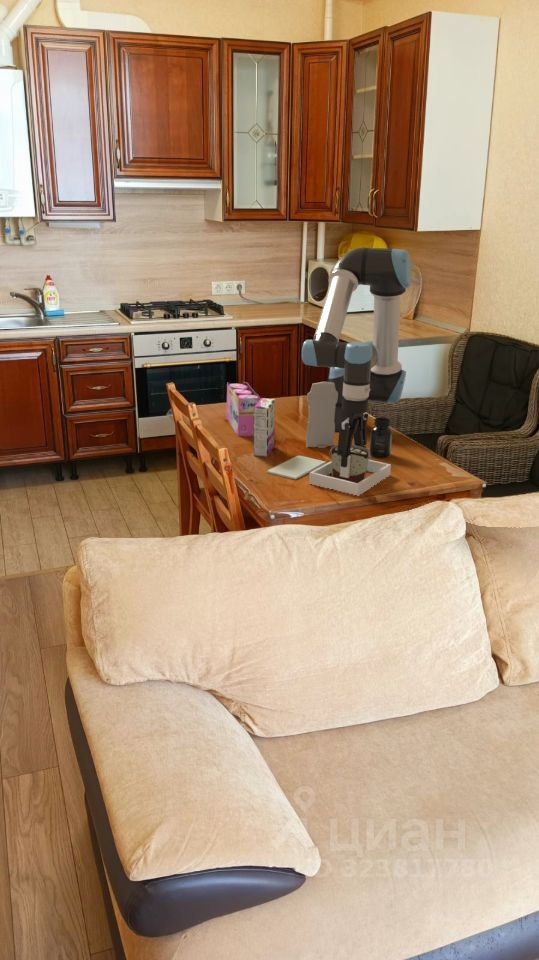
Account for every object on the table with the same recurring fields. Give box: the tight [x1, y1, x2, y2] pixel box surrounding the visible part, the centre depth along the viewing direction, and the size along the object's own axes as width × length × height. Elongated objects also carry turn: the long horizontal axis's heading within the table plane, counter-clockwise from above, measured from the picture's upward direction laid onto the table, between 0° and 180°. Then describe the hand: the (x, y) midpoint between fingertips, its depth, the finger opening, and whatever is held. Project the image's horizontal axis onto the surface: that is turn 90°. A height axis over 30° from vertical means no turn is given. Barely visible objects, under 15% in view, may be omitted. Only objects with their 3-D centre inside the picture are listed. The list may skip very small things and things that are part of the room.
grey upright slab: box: [306, 381, 338, 449], centre depth 255 cm, size 11×4×22 cm, turn 106°
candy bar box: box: [253, 397, 276, 458], centre depth 250 cm, size 11×5×16 cm, turn 168°
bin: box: [308, 458, 392, 497], centre depth 230 cm, size 21×16×4 cm
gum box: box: [226, 381, 261, 437], centre depth 276 cm, size 24×8×14 cm, turn 14°
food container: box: [328, 444, 372, 483], centre depth 229 cm, size 12×6×10 cm, turn 71°
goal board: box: [266, 455, 326, 480], centre depth 239 cm, size 18×10×1 cm, turn 146°
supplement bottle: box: [368, 417, 393, 459], centre depth 250 cm, size 7×7×12 cm
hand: (350, 473), depth 230 cm, fingers closed on food container, 7 cm apart
